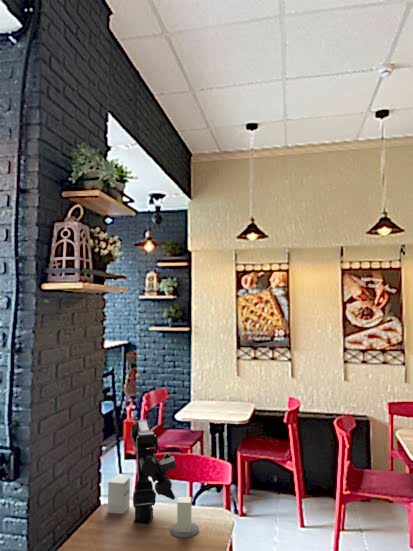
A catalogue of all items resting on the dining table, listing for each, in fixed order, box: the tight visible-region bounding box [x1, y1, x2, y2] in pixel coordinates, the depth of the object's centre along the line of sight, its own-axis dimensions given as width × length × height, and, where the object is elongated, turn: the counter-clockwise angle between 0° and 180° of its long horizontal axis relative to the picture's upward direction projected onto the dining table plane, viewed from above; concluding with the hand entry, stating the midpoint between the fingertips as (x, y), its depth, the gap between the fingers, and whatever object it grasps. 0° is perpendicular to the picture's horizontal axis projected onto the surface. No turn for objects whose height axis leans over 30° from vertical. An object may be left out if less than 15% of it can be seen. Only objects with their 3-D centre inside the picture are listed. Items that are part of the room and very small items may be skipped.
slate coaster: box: [169, 522, 200, 539], centre depth 175 cm, size 11×11×1 cm
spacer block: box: [176, 496, 192, 532], centre depth 175 cm, size 5×5×11 cm
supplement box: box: [107, 476, 131, 515], centre depth 193 cm, size 7×7×13 cm
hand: (172, 493), depth 179 cm, fingers open, 9 cm apart
